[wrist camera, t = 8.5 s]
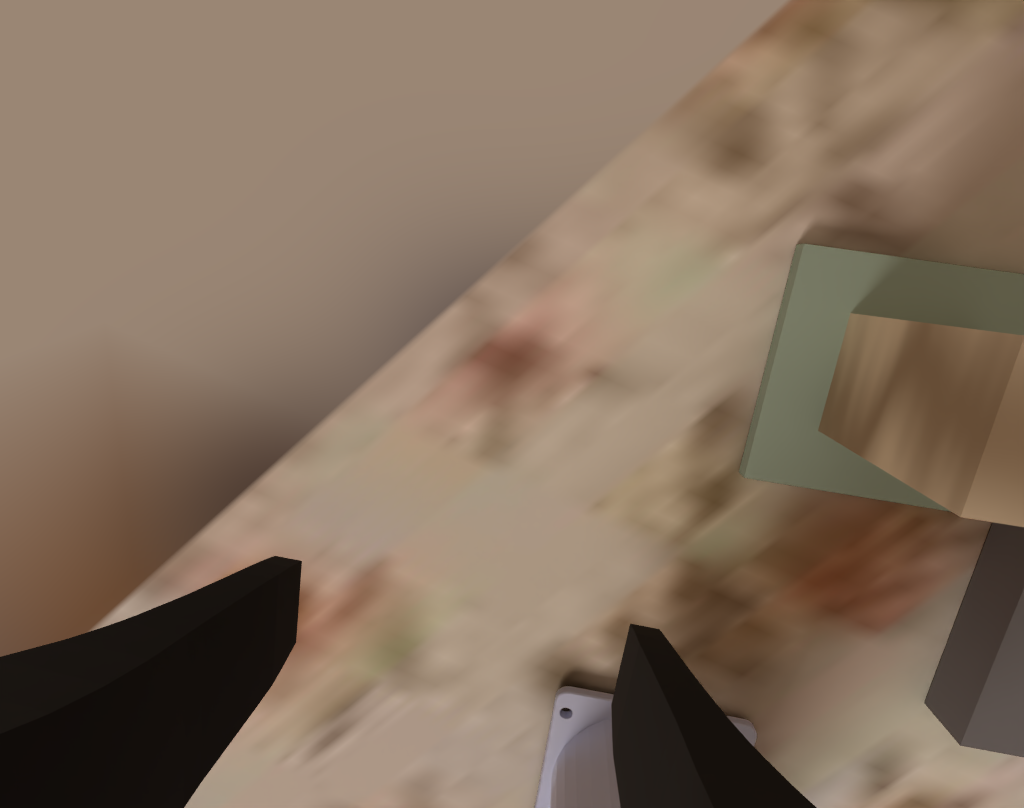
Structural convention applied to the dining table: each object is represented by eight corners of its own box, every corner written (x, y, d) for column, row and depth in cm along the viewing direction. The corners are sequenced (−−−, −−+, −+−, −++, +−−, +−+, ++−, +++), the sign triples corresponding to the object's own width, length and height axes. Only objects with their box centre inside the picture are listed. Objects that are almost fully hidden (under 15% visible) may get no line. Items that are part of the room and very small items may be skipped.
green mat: (966, 508, 20) (978, 515, 19) (738, 471, 20) (743, 477, 20) (1049, 280, 18) (1066, 280, 17) (796, 244, 18) (804, 243, 18)
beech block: (939, 448, 19) (1153, 547, 12) (818, 430, 19) (960, 517, 12) (978, 330, 18) (1235, 365, 11) (850, 312, 18) (1024, 335, 11)
